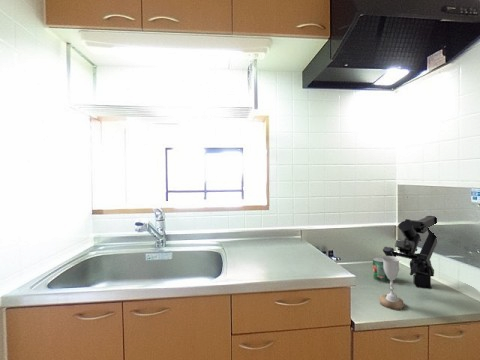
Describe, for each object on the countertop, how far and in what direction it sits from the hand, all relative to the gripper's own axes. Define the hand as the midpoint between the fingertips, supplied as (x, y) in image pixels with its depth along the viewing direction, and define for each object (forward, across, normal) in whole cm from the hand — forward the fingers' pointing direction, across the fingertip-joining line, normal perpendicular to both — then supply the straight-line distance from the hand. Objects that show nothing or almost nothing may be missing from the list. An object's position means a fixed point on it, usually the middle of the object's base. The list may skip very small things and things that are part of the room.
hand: (399, 271), depth 120 cm
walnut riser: (+15, 0, +4) cm, 15 cm away
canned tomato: (-2, -16, +20) cm, 26 cm away
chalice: (+12, 0, +2) cm, 13 cm away
